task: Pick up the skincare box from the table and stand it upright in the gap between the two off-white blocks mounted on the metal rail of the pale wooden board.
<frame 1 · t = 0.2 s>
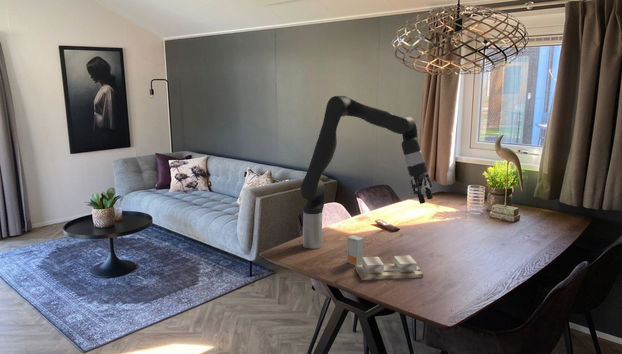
hand: (426, 201, 193), 31 cm above the table, tool tilted 20°, fingers open, 8 cm apart
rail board: (388, 272, 198), on the table
skincare box: (354, 263, 208), on the table
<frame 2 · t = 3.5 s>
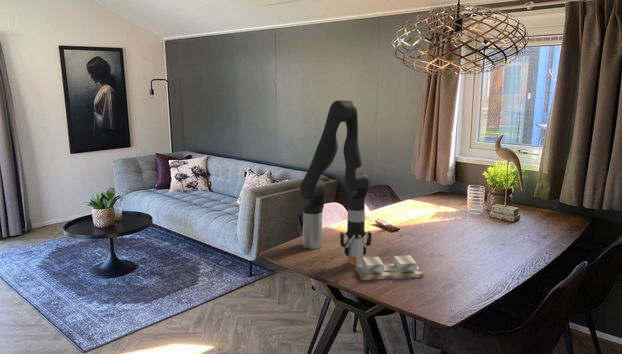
hand: (355, 254, 207), 4 cm above the table, tool pointing down, fingers closed on skincare box, 7 cm apart
skincare box: (354, 263, 208), on the table, touching gripper
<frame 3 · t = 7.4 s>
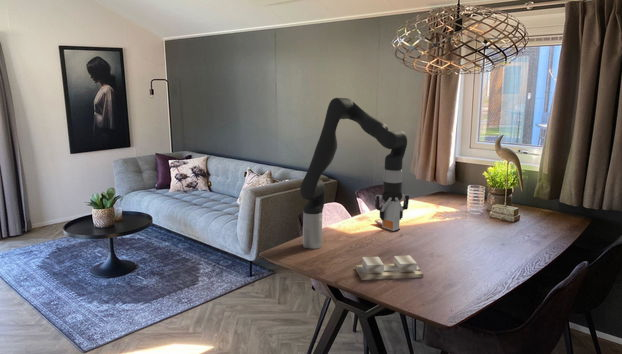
hand: (390, 219, 193), 23 cm above the table, tool pointing down, fingers closed on skincare box, 6 cm apart
skincare box: (390, 228, 194), point 19 cm above the table, touching gripper
when the fingers open (8 cm above the table, at t = 10.9 s): skincare box drops 2 cm, resting on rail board.
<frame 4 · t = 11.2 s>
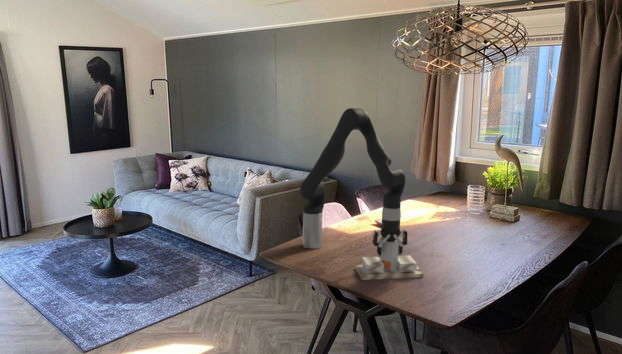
hand: (389, 254, 196), 8 cm above the table, tool pointing down, fingers open, 8 cm apart
skincare box: (389, 268, 197), point 2 cm above the table, touching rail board
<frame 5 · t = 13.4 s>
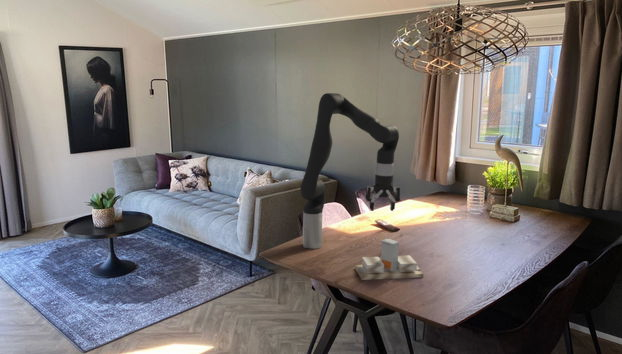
hand: (381, 210, 199), 25 cm above the table, tool pointing down, fingers open, 8 cm apart
nothing on the table moved.
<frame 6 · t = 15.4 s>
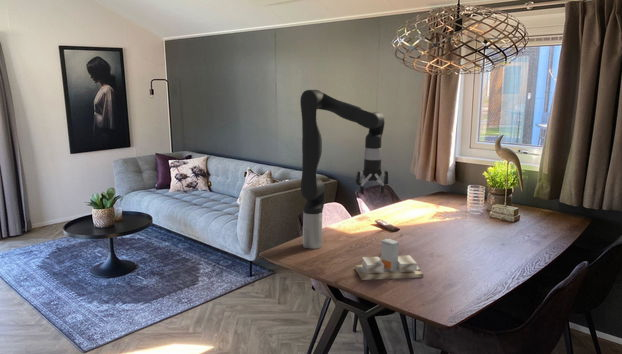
hand: (371, 193, 209), 30 cm above the table, tool pointing down, fingers open, 8 cm apart
nothing on the table moved.
at the end: skincare box 0.2 cm off-centre on the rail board, point 1.9 cm above the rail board's base; skincare box tilted 0°; the gripper is holding nothing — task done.
